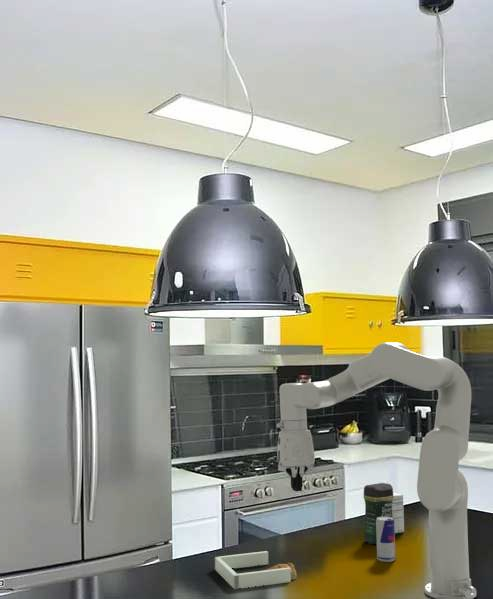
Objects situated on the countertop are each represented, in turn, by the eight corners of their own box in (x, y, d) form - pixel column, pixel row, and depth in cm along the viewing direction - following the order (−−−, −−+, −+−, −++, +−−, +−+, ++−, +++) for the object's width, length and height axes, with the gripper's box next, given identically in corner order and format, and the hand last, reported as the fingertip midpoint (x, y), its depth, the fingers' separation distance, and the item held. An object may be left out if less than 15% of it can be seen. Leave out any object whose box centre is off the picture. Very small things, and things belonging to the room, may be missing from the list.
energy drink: (395, 562, 206) (394, 520, 207) (377, 561, 207) (375, 520, 208) (395, 557, 211) (394, 516, 212) (377, 556, 212) (376, 516, 213)
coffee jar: (377, 547, 223) (375, 487, 224) (360, 541, 229) (358, 483, 231) (399, 542, 228) (397, 483, 230) (382, 536, 235) (380, 480, 236)
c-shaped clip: (290, 581, 191) (290, 568, 191) (234, 589, 185) (234, 575, 186) (267, 563, 208) (266, 551, 208) (214, 569, 203) (214, 557, 203)
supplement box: (374, 529, 244) (373, 492, 245) (392, 527, 247) (390, 490, 248) (387, 534, 238) (385, 496, 238) (405, 532, 241) (403, 494, 242)
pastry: (266, 584, 190) (265, 569, 190) (258, 577, 196) (257, 563, 196) (298, 580, 193) (298, 565, 193) (289, 573, 199) (289, 559, 199)
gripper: (274, 428, 198) (277, 495, 197) (323, 425, 203) (326, 490, 201) (265, 426, 205) (268, 491, 204) (312, 423, 210) (315, 486, 208)
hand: (297, 490), depth 202 cm, fingers closed
